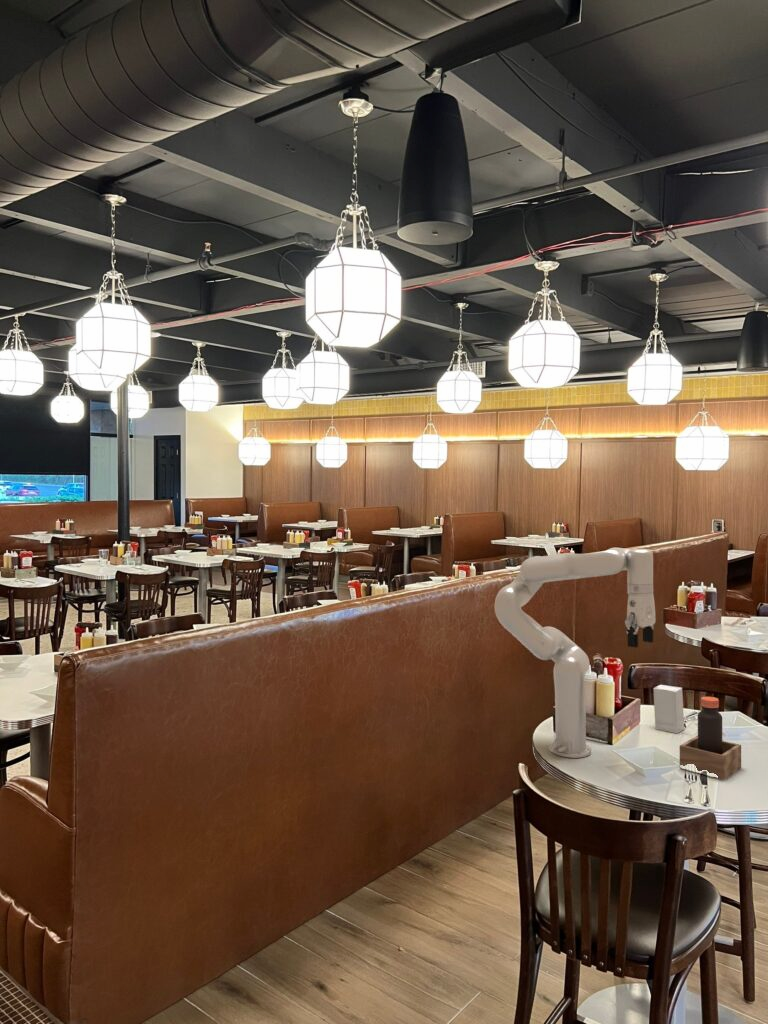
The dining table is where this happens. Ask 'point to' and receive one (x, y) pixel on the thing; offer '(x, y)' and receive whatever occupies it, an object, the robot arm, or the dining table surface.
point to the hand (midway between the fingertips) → (640, 644)
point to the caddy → (712, 758)
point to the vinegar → (710, 726)
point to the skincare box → (668, 708)
